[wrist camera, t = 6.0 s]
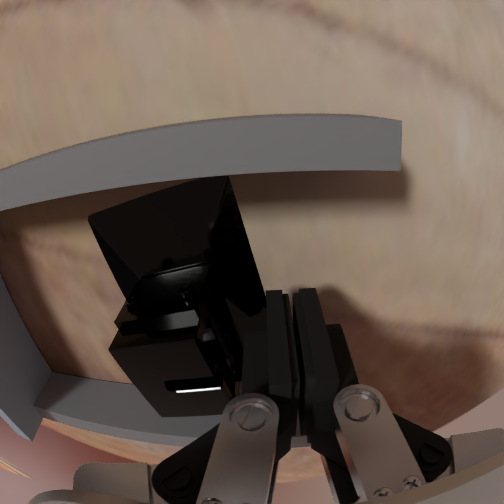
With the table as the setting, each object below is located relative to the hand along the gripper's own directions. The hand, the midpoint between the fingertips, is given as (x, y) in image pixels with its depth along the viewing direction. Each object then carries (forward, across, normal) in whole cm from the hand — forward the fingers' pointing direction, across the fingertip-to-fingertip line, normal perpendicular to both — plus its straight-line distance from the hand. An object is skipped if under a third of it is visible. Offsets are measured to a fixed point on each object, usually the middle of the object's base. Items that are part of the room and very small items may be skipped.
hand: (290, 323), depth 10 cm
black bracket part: (+2, +4, 0) cm, 4 cm away
